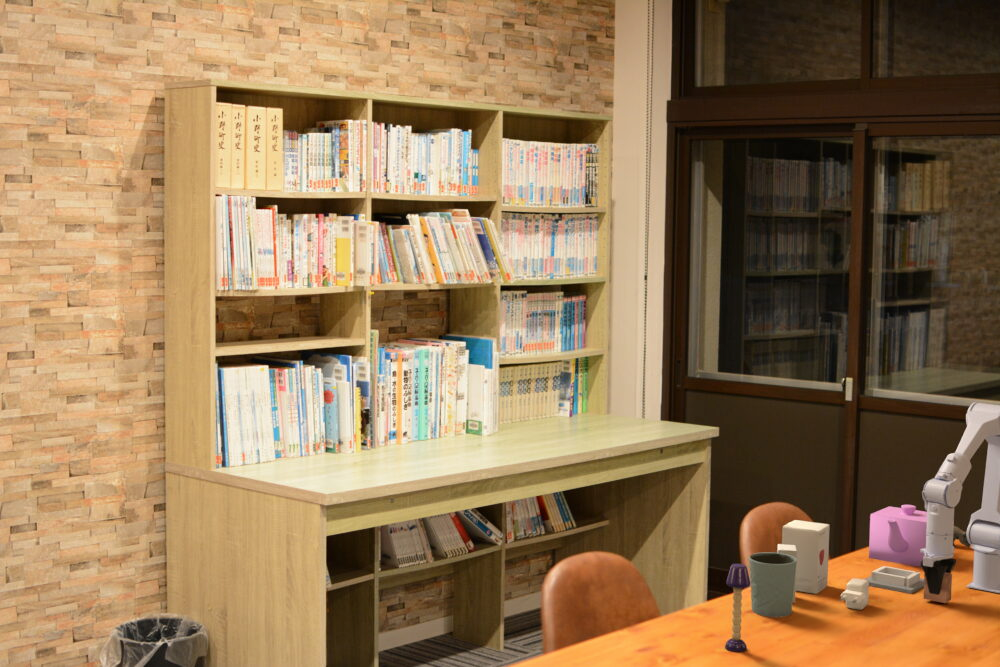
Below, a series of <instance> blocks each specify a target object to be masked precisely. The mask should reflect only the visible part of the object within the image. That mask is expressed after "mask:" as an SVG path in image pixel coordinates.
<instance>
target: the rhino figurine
mask: <svg viewBox="0 0 1000 667" xmlns="http://www.w3.org/2000/svg"><path fill="white" fill-rule="evenodd" d="M966 532H967V530H966V531H964V530H962V529H960V527H958V526H955V525H954V529H953V547H954V548H956V545H955V541H956V540H957V541H959V543H960V544H962V545H964V546H965V547H967V548H971V544H969V542H968V540H967V535H966Z"/></svg>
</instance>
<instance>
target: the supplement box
mask: <svg viewBox="0 0 1000 667" xmlns="http://www.w3.org/2000/svg"><path fill="white" fill-rule="evenodd" d="M830 529H831V528H830V524H828V523H822V522H814V521H808V520H807V521H806V520H800V519H799V520H798V519H794V520H792V521H790V522H787V523H786V524H785V525H783V526H782V532H781V533H782V535H781V537H782V538H781V544H785V545H795V546H796V549H797V563H796V586H795V592H801V593H807V594H808V593H809V594H813V595H817V594H818V593H820V592H822V591H823V590H825V588H826V587H827V586H828V572H829V552H830V550H829V546H830V545H829V544H830Z"/></svg>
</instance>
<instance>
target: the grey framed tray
mask: <svg viewBox="0 0 1000 667" xmlns="http://www.w3.org/2000/svg"><path fill="white" fill-rule="evenodd" d="M870 573H871V574H870V576H868V577H866V578H864V580H867V581H868V582H869V587H875V588H879V589H885V590H891V591H894V592H900V593H906V594H909V595H911V594H913V593H915V592H917V591H919V590H920V589H922V588H924V578H921V572H920V571H919V572H918V571H914V570H908V569H903V568H898V567H892V566H885V565H882V566H881V567H879V568H877V569H875V570H873V571H871V572H870Z"/></svg>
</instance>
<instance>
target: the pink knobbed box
mask: <svg viewBox="0 0 1000 667" xmlns="http://www.w3.org/2000/svg"><path fill="white" fill-rule="evenodd" d="M869 519H870V520H869V541H868V542H869V543H868V545H869V546H868V559H872V560H878V561H884V562H890V563H896V564H900V565H907V566H912V567H918V568H922V567H921V561H923V557H924V556H925V554H924V553H921V552H920V550H921V549H922V548H926V529H927V511H926V510H925V511H923V510H917V506H916V505H912V504H902V505H901V506H900V507H897V506H895V507H894V506H887V507H885V508H882V509H879V510H877V511H875V512H872V513H870V516H869Z"/></svg>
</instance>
